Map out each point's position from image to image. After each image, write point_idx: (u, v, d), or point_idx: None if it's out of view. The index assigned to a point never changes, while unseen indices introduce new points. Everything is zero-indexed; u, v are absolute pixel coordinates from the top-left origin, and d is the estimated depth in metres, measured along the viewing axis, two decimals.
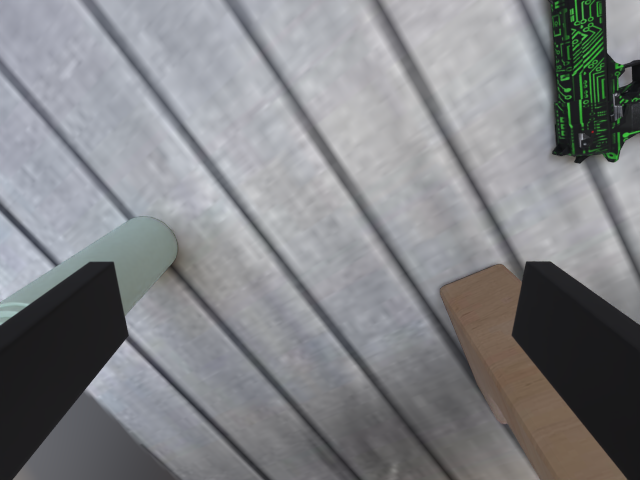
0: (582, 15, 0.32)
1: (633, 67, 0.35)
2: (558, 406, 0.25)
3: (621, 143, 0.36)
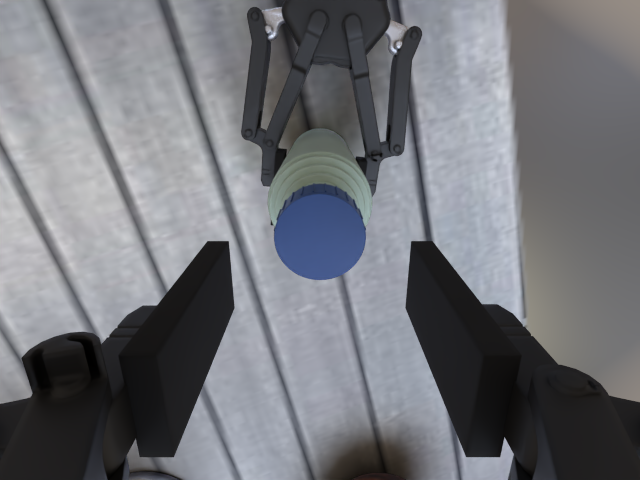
0: None
1: None
2: None
3: None
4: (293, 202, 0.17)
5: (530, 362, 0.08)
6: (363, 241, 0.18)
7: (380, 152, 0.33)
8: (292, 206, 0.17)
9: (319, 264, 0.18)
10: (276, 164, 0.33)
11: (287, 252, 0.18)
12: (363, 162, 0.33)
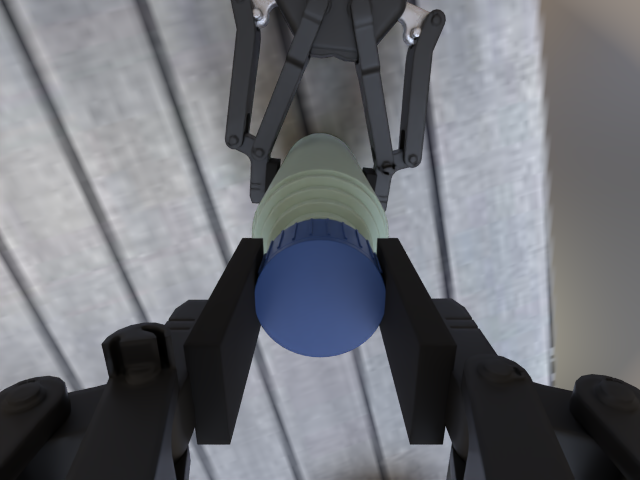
0: None
1: None
2: None
3: None
4: (281, 251, 0.12)
5: (470, 352, 0.09)
6: (383, 305, 0.12)
7: (392, 163, 0.27)
8: (279, 257, 0.12)
9: (319, 336, 0.13)
10: (267, 177, 0.28)
11: (273, 320, 0.13)
12: (372, 175, 0.27)
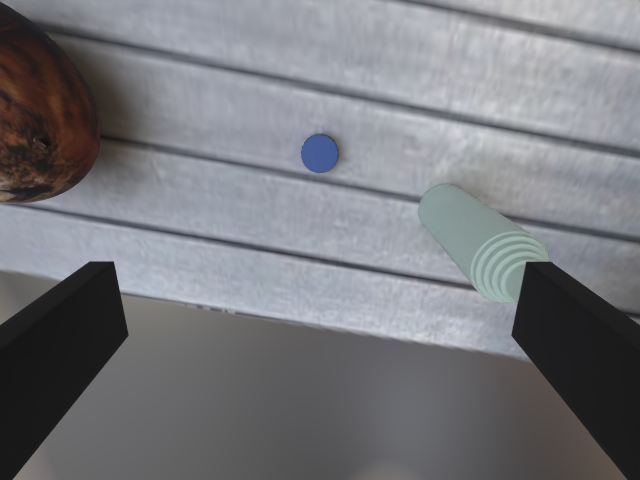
0: None
1: None
2: None
3: None
4: (312, 137, 0.44)
5: None
6: (336, 159, 0.45)
7: None
8: (312, 138, 0.44)
9: (317, 165, 0.46)
10: None
11: (305, 157, 0.45)
12: None
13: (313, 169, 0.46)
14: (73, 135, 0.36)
